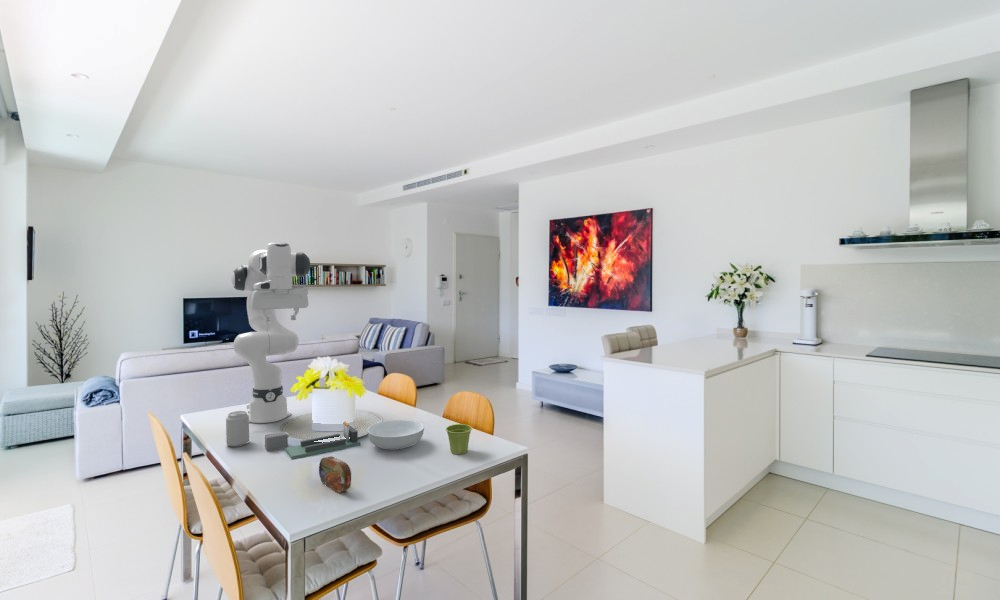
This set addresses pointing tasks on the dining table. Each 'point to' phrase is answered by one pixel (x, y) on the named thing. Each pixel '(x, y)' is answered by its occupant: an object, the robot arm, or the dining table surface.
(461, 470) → the dining table surface
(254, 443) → the dining table surface
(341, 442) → the header board
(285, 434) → the plug
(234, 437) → the can
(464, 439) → the plant pot
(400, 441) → the serving bowl
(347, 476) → the tin
